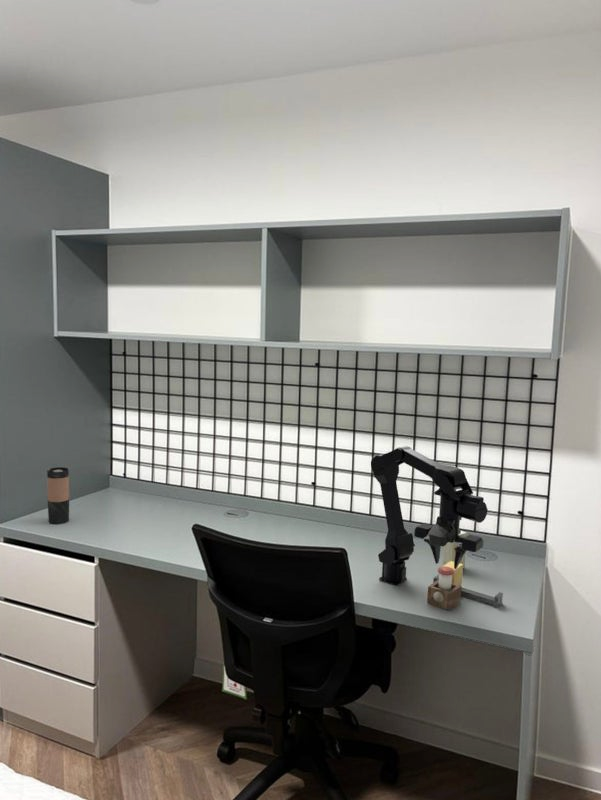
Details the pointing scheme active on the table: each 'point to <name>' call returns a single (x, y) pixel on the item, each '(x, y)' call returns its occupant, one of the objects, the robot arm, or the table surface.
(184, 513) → the table surface
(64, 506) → the travel mug
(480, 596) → the rail
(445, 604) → the brown wooden box
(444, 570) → the plunger
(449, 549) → the skincare box
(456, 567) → the robot arm
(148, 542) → the table surface
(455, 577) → the block
